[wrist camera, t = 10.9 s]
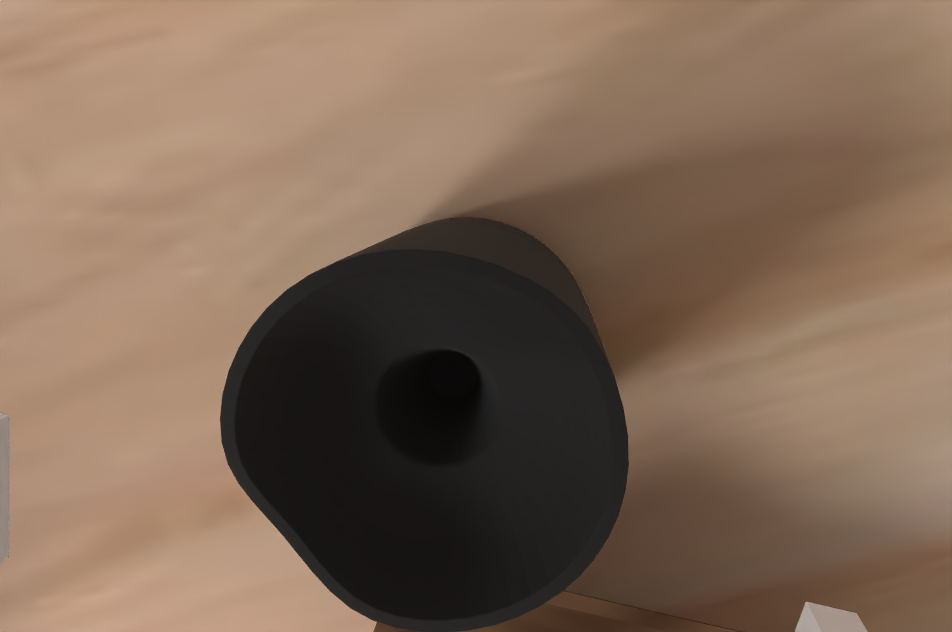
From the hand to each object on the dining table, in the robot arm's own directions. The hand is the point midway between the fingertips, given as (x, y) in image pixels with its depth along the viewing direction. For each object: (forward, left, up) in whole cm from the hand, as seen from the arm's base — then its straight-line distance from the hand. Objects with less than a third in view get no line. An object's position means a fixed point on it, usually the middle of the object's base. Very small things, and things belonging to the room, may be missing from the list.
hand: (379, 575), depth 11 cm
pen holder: (0, 0, -15) cm, 15 cm away
